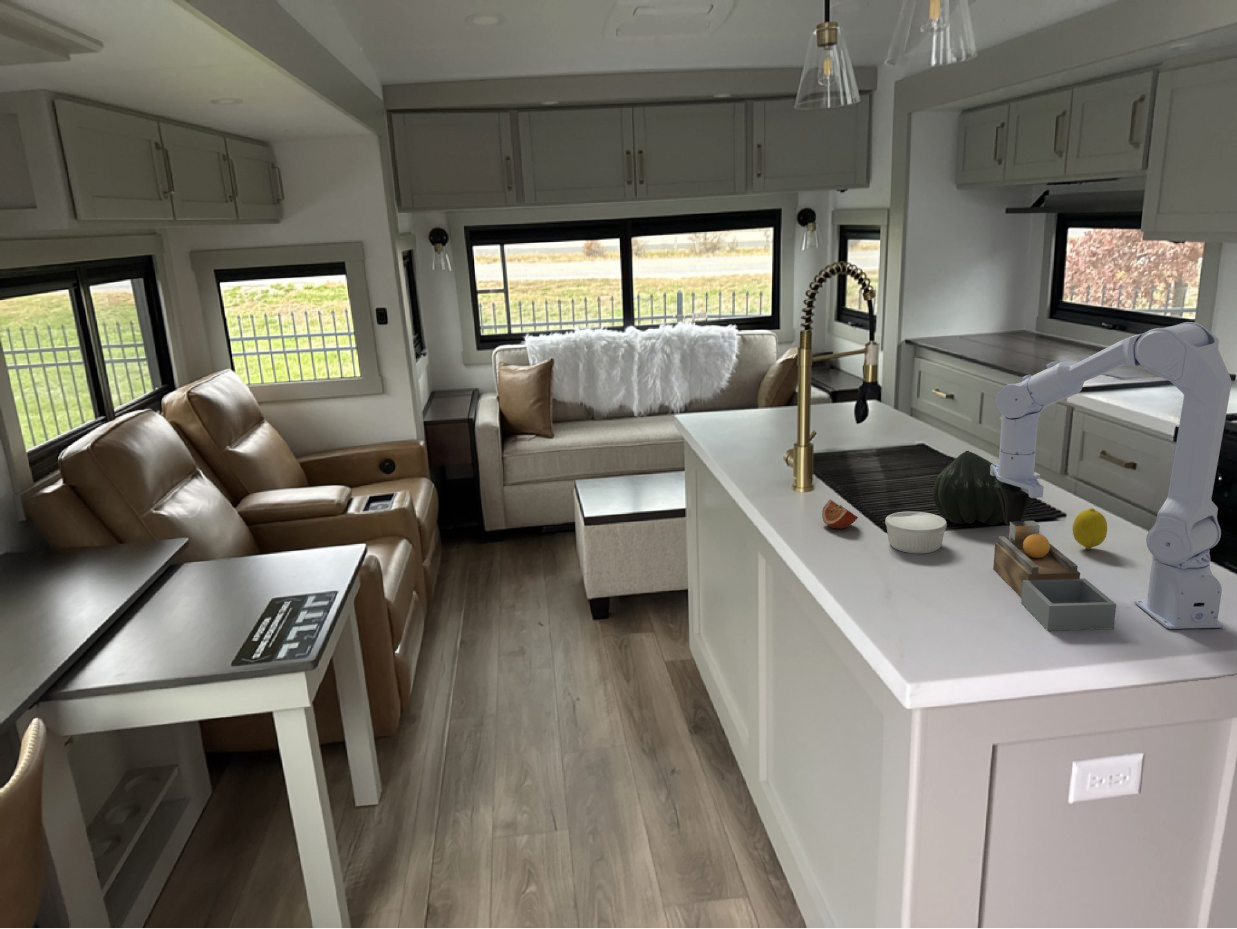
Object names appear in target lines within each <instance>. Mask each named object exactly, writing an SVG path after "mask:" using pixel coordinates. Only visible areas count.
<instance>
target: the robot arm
mask: <svg viewBox="0 0 1237 929" xmlns="http://www.w3.org/2000/svg"><path fill="white" fill-rule="evenodd" d="M1219 344H1220V340H1219V338H1218V337H1217V336H1216V335H1215V334H1213V333H1212V332H1211V330H1208V329H1207V327H1205V326H1204V325H1202V324H1200V323H1197V322H1193V321H1190V322H1189V321H1186V322H1181V323H1179V324H1175V325H1172V326H1165V327H1157V328H1152V329H1150V330H1148V331H1145V332H1144V333H1139V334H1135V335H1133V336H1129V337H1126V338H1123V339H1122V340H1119V341H1118V342H1115V343H1114V344H1111V345H1110V346H1107V347H1106V348H1103V349H1102V350H1100V351H1098V352H1096V353H1094V354H1092V355H1090V356H1088V357H1086V358H1084V359H1083V360H1080V361H1078V362H1077V363H1072V362H1069V361H1061V362H1059V361H1058V360H1055V361H1051V362H1050V363H1047V364H1046V365H1045V367H1046V369H1043V370H1042V371H1039V372H1037V373H1035V374H1033V375H1032V374H1027V375H1024V376H1022V377H1021V378H1022V381H1021V382H1017V383H1010V384H1009V383H1008V384H1006V385H1005V386H1004V387H1002V388H1001V389H1000V390H999V391H998V393H997V394H996V397H995V398H996V399H995V404H996V409H997V411H998V412H999V413H1000V414H1001V423H1000V424H1001V425H1000V439H999V440H1000V441H999V452H998V455H999V456H998V463H995V464H994V463H993V465H991V466H990V475H992V476H996V478H997V479H998V480H999V481H1001V482H1002V484H996V485H994V489H995V491H996V492H997V495H998V497H999V500H1000V503H1001V507H1002V512H1003V517H1004V520H1003V522H1004V524H1005V525H1007V526H1008V527H1010V522H1013V521H1023V520H1022V519H1023V517H1024V514H1025V513H1026V512H1025V511H1026V510H1027V507H1028V506H1029V503H1030V502H1031V501H1032V500H1033V499H1035V498H1043V497H1044V488H1045V487H1044V486H1043V485H1042V484H1041V483H1040V482H1039V479H1041V474H1040V473H1038V472H1035V469H1036V468H1035V467H1036V457H1037V441H1038V430H1039V421H1040V416H1041V413H1042V411H1043V410H1044V409H1045V408H1047V407H1050V406H1052V405H1055V404H1057V403H1059V402H1061V401H1063V400H1065V399H1067V398H1071V397H1073V396H1075V395H1077V394H1079V393H1080V392H1081V391H1082V390H1083V387H1084V384H1085V382H1087V381H1089V380H1092V379H1095V378H1097V377H1100V376H1101V375H1104V374H1106V373H1108V372H1109V373H1110V372H1112V371H1114V370H1116V369H1119V368H1121V367H1124V366H1129V367H1133V368H1135V367H1139V366H1141V367H1142V368H1144V369H1145V370H1147V371H1149V372H1150V373H1153V374H1154V375H1156V376H1159V377H1160V378H1162V379H1164V380H1167V381H1169V382H1170V383H1171V384H1173V386H1175V387H1176V388H1177V390H1179V391H1180V392H1181V393H1182V394H1183V401H1182V407H1181V412H1180V417H1179V426H1178V431H1177V437H1176V442H1175V450H1174V456H1173V463H1172V468H1171V475H1170V479H1169V488H1168V493H1167V498H1166V500H1165V501H1164V503H1163V504H1162V506H1161V507H1160V509H1159V511H1158V512H1157V516H1156V521H1155V523H1154V525H1152V527H1151V528H1150V529H1149V530H1148V532H1147V534H1146V538H1145V539H1146V540H1145V541H1146V546H1147V548H1148V551H1149V552H1150V554H1151V555H1152V557H1151V565H1150V573H1149V574H1150V575H1149V582H1148V592H1147V598H1141V599H1140V598H1138V599H1134V600H1133V602H1134V604H1135V605H1137V606H1138V607H1139V608H1140V609H1141V610H1143V611H1145V612H1146V613H1147V614H1148V615H1150V617H1152V618H1153V619H1154V620H1156V621H1157V622H1158V623H1160V624H1161V625H1162V626H1164V627H1165V628H1166V629H1168V630H1169V629H1170V630H1172V629H1173V630H1176V629H1177V630H1179V629H1181V630H1182V629H1211V628H1213V629H1214V628H1216V629H1217V628H1223V627H1224V624H1223V623H1222V622H1221V621H1219V613H1220V604H1221V600H1222V590H1223V589H1222V585H1221V582H1220V581H1219V580H1218V578H1217V577H1215V575H1214V574H1213V573H1212V570H1211V555H1210V550H1211V549H1213V548H1214V547H1215V546H1217V545H1218V543H1219V541H1220V540H1221V535H1222V530H1221V527H1220V524H1219V521H1218V510H1219V508H1218V506H1217V505H1216V504H1215V502H1214V501H1212V498H1213V497H1212V496H1213V491H1214V485H1215V479H1216V474H1217V468H1218V464H1219V456H1220V453H1221V452H1220V451H1221V448H1222V447H1221V446H1222V440H1223V434H1224V428H1225V423H1226V418H1227V412H1228V406H1229V401H1230V396H1231V389H1232V379H1231V378H1232V377H1231V376H1230V373H1229V371H1228V369H1227V366H1226V364H1225V362H1224V360H1223V356H1222V355H1221V352H1220V350H1219Z"/></svg>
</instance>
